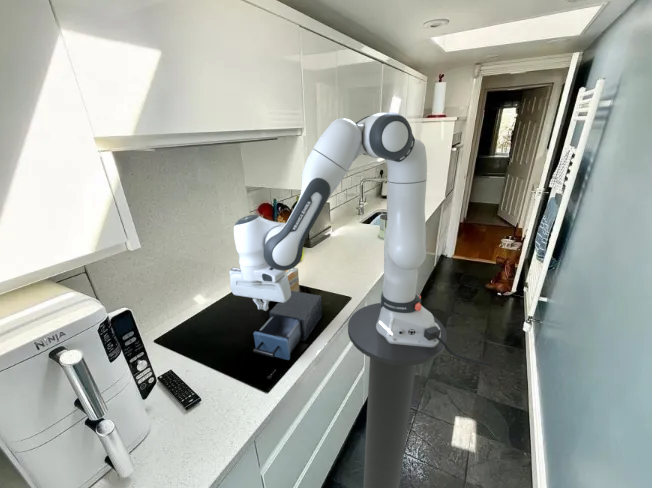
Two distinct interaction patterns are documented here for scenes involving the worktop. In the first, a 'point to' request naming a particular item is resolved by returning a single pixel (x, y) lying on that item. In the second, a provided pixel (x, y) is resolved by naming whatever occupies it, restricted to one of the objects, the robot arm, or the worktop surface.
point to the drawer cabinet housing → (301, 310)
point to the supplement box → (293, 279)
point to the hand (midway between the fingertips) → (263, 309)
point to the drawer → (278, 337)
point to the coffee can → (383, 225)
